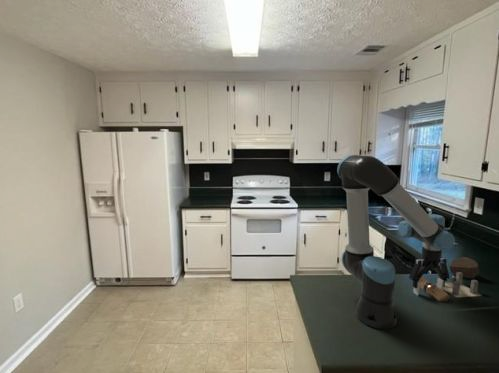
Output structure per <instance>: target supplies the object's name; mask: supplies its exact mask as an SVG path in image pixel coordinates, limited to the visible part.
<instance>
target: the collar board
mask: <svg viewBox="0 0 499 373" xmlns="http://www.w3.org/2000/svg"><path fill="white" fill-rule="evenodd" d="M455 277H456V281H453V284H452V283H450V281H449V282H447V281H445V284H444V286H443V291H444V292H446V293H447V294H450V295H451V296H453V297H454V298H467V297H481V296H483V295H482V294H480V293H479V292H478V287H479V281H478V280H476V279H471V280H470V281H471V282H470V287H468V286H466V285H464V284H463V279H464V278H463V273H461V272H457V273H456V276H455ZM438 278H440V277H439V276H438ZM433 284H434V285H435V286H437V282H435V283H433Z"/></svg>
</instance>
